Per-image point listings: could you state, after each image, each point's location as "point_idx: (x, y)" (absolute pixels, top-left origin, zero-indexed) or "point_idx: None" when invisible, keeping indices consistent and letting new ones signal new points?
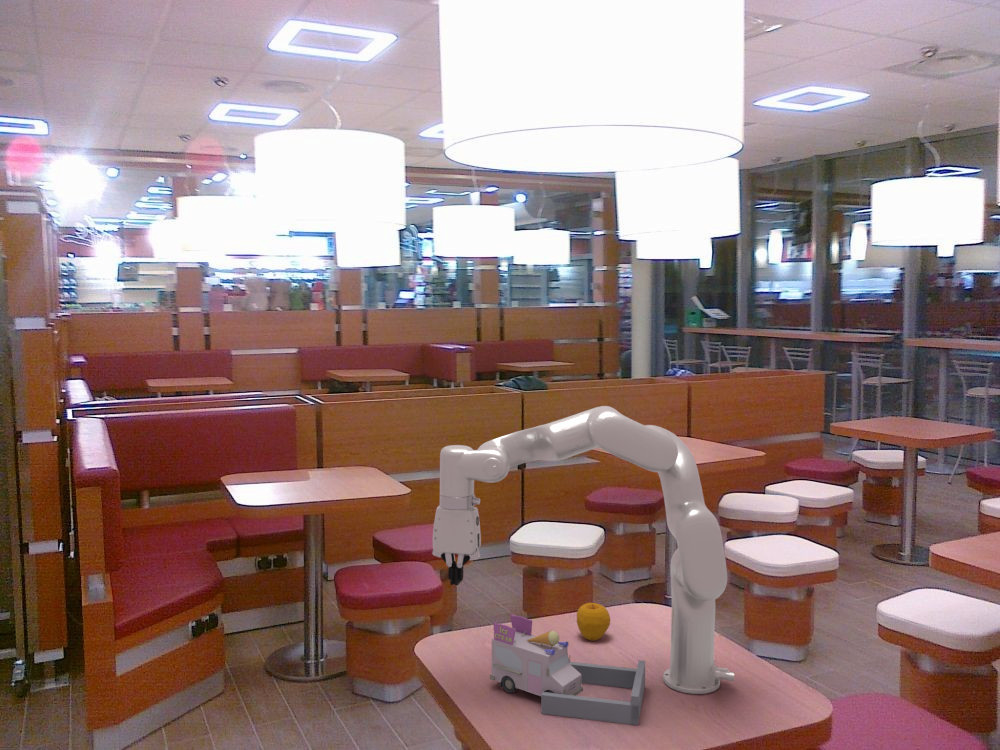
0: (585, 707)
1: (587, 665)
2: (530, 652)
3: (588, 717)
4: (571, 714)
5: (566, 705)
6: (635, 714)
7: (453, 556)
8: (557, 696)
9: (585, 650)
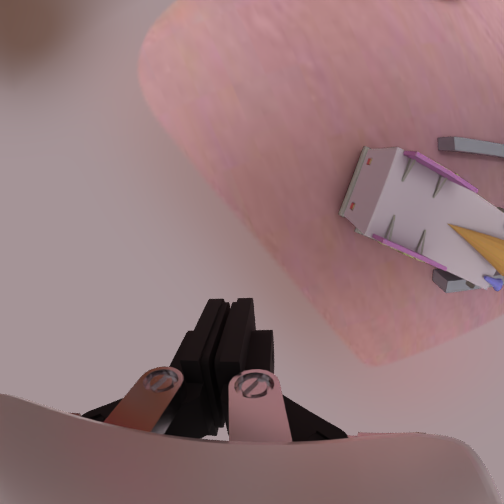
0: None
1: (498, 151)
2: (456, 275)
3: None
4: None
5: None
6: None
7: (162, 426)
8: (466, 288)
9: (443, 22)
